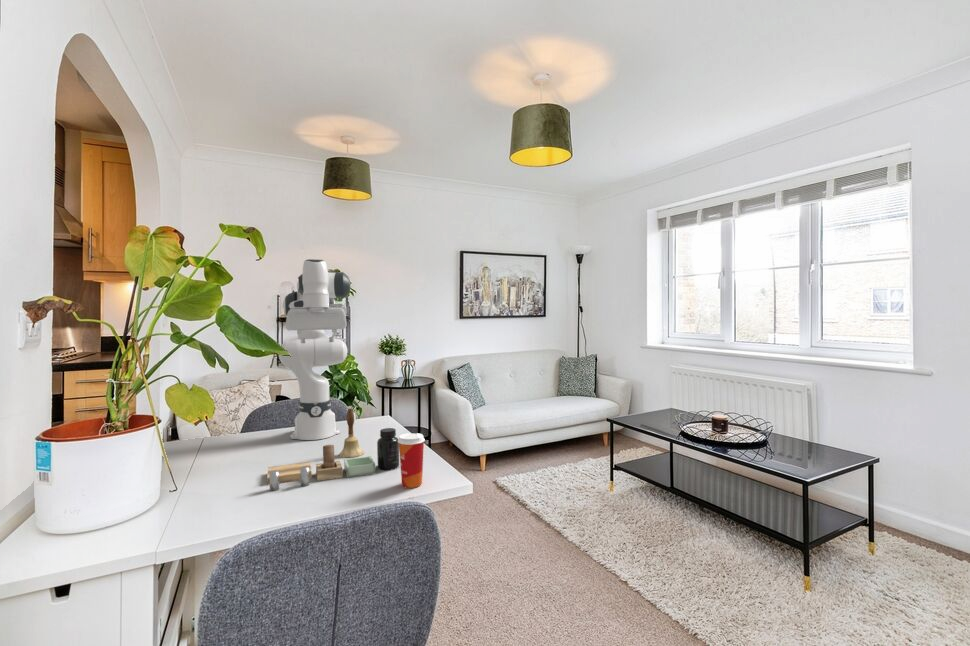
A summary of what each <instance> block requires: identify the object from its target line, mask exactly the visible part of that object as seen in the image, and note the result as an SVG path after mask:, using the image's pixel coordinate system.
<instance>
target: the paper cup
mask: <svg viewBox="0 0 970 646" xmlns="http://www.w3.org/2000/svg"><path fill="white" fill-rule="evenodd" d="M425 441H426V440H425V438H424V434H422V433H418V432H417V433H416V432H412V433H408V432H407V433H403V434H401V435H399V436H398V443H399V466H400V477H401V485H402V487H403V488H404V487H406V489H415V488H414V487H417V488H419V487H421V486H422V485H423V473H424V472H423V470H424V469H423V467H424V447H425V446H424V443H425ZM421 484H422V485H421ZM420 485H421V486H420ZM418 486H419V487H418Z"/></svg>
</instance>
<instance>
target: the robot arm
mask: <svg viewBox="0 0 970 646" xmlns="http://www.w3.org/2000/svg"><path fill="white" fill-rule="evenodd" d="M297 278H298V280H297V282H296V290H297V291H295V290H293V289H292V292H290V293H288V294H287V295H286V296H285V297H284V299H283V303H282V309H283V312H284V313H285V315H286V319H285V320H286V321H285V328H286V330H287V331H296V334H297V339H292V340H288V341H284V342H283V343H282V344H281V345H280V347H281V346H282V347H283V348H284V349H286V350H287V351H288V352H289V353H290V354H291V355H292V356H293V358H292V357H290V356H282V355H279V354H278V359H279V361H280V362H281V364H282V365H283V366H284V367H286V368H288V369H289V370H290V371H291V372H292V373H293V374H294V375H295V377H296V379H297V382H298V386H299V398H300V399H299V402H298V403H299V404H298V411H299V413H298V414H297V415H296V416H295V418H294V425H295V426H294V431H293V432H292V433H291V434H290V437H289V438H290V439H292V440H294V439H295V440H302V441H314V440H315V441H316V440H323V439H327V438H331V437H332V436H335V435H338V434H339V435H340V434H341V430H340V429H339V428H338V427H336V414H335V413H334V411H332V410H331V409H332V402H331V399H330V381H329V379H327V378H326V376H324V375H322V374H318V373H316V372H315V371H314V370H313V368H314V367H324V366H327V367H328V366H329V367H330V366H335V365H338V364H343V363H344V362H345V360H346V359H347V357H348V350H349V349H348V346H347V344H346V343H345V342H344V341H343V340H342V339H339V338H335V336H336V334H337V331H338V330H344V329H346V327H347V326H348V325H347V317H346V316H347V313H348V310H347V309H348V308H347V306H346V305H344V304H343V303H336V301H335V299H342V300H343V299H345V298H346V297H347V296H349V294H350V291H351V280H350V278H349V276H348V275H347V274H346V273H344V271H340V272H329V270H328V265H327V261H326V260H323V259H305V260H303V264H302V273H300V275H299V276H298V277H297ZM325 330H331V333H332V335H328V334H326V332H325Z"/></svg>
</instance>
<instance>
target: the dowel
mask: <svg viewBox="0 0 970 646" xmlns="http://www.w3.org/2000/svg"><path fill="white" fill-rule="evenodd" d="M322 458H323V459H322V463H323V469H326V468H333V467H335V465H334V461H335V445H334V444H325V445H323V446H322Z"/></svg>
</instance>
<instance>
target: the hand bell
mask: <svg viewBox="0 0 970 646" xmlns="http://www.w3.org/2000/svg"><path fill="white" fill-rule="evenodd" d="M346 423H347V426H348V427H347V429H348V431H347V432H348V436H347V438H345V439H344V442H343V447H342V450H341V451H340V453H339V455H338V457H340V456H341V457H340V458H343V457H347V458H346V459H350V458H349V457H352V458H358V457H360V455H361V456H362V454H363V455H364V453H365V452H364V450H363V449H362V448H361V447H360V444H359V439H358V438H357V437H355V436H354V423H355V413H354V410H353V408H351V407H350V408H348V410H347V413H346ZM357 456H358V457H357Z"/></svg>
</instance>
